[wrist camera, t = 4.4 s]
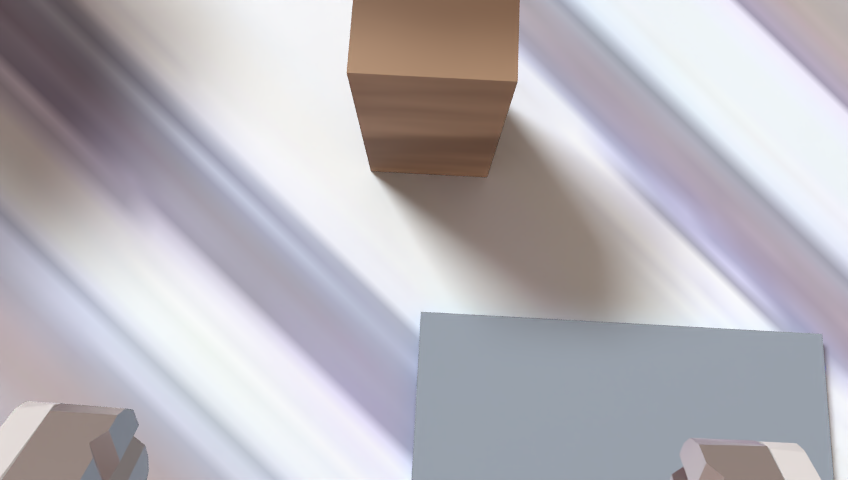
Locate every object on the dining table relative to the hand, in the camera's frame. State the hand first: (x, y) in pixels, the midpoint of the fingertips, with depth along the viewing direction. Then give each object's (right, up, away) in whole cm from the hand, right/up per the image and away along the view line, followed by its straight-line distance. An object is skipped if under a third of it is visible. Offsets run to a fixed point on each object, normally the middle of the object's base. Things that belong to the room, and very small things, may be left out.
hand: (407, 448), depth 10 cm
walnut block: (+1, +8, +18) cm, 20 cm away
